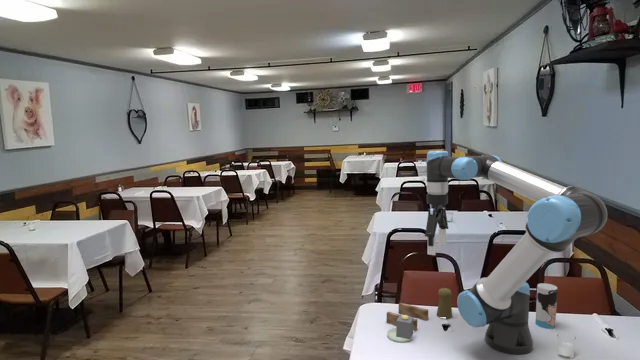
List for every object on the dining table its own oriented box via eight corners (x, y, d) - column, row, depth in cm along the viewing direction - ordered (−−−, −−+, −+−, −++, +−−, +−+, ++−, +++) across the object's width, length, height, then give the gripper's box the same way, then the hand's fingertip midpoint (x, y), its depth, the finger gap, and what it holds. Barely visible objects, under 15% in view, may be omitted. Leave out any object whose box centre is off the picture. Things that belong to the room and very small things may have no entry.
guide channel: (428, 319, 167) (428, 309, 166) (415, 331, 157) (415, 320, 157) (400, 311, 174) (400, 302, 173) (386, 322, 164) (386, 312, 164)
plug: (413, 333, 154) (413, 314, 153) (410, 339, 149) (410, 320, 148) (399, 330, 156) (399, 312, 155) (396, 336, 151) (396, 317, 150)
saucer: (416, 334, 154) (416, 332, 154) (406, 345, 147) (406, 342, 147) (394, 328, 160) (394, 325, 159) (382, 337, 152) (382, 335, 152)
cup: (549, 330, 156) (552, 291, 155) (531, 323, 162) (533, 285, 160) (558, 325, 160) (560, 287, 159) (540, 319, 166) (542, 282, 164)
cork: (453, 319, 166) (453, 292, 165) (437, 318, 168) (437, 291, 166) (451, 312, 172) (452, 286, 171) (436, 311, 174) (436, 285, 172)
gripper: (436, 188, 167) (436, 241, 169) (415, 196, 146) (416, 257, 148) (456, 189, 164) (455, 243, 166) (437, 198, 142) (437, 259, 144)
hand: (437, 250), depth 157 cm, fingers open, 13 cm apart
